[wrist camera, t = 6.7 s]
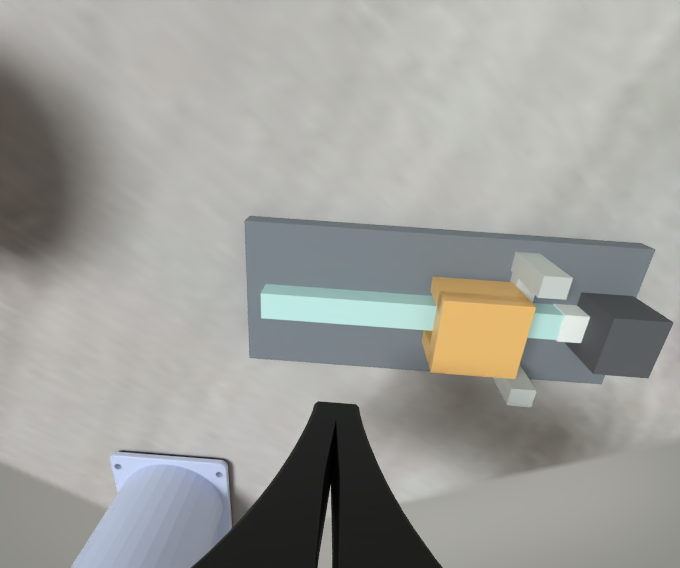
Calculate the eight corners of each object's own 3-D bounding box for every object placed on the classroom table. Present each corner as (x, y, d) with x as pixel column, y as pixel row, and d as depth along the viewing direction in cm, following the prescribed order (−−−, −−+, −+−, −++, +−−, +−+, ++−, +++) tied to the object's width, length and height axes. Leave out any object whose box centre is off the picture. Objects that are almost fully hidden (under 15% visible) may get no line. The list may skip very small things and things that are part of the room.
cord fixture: (591, 373, 23) (639, 425, 19) (253, 348, 23) (233, 394, 19) (641, 243, 20) (710, 273, 16) (249, 215, 20) (224, 239, 16)
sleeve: (496, 346, 21) (515, 378, 18) (421, 341, 21) (430, 372, 18) (512, 282, 20) (536, 307, 17) (432, 276, 20) (444, 300, 17)
